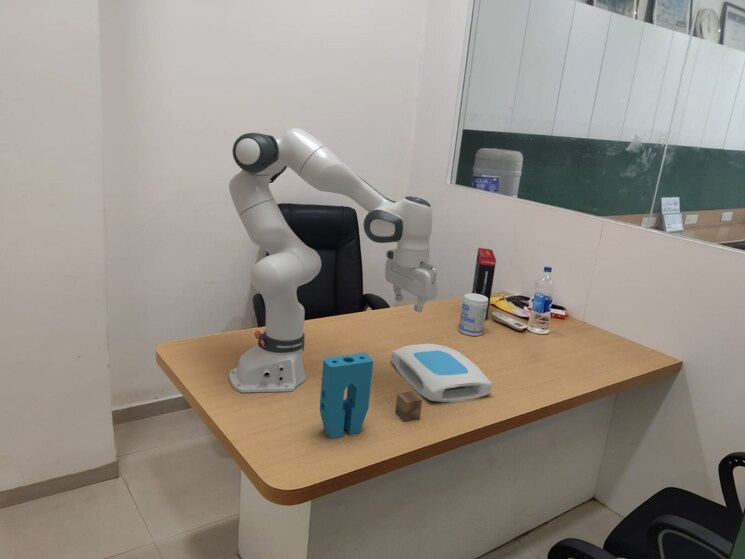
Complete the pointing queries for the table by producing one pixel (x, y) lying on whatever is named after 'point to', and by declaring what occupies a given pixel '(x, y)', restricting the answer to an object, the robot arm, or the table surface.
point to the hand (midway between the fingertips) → (408, 306)
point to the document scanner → (440, 373)
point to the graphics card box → (484, 274)
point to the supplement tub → (473, 314)
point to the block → (335, 380)
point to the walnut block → (408, 406)
